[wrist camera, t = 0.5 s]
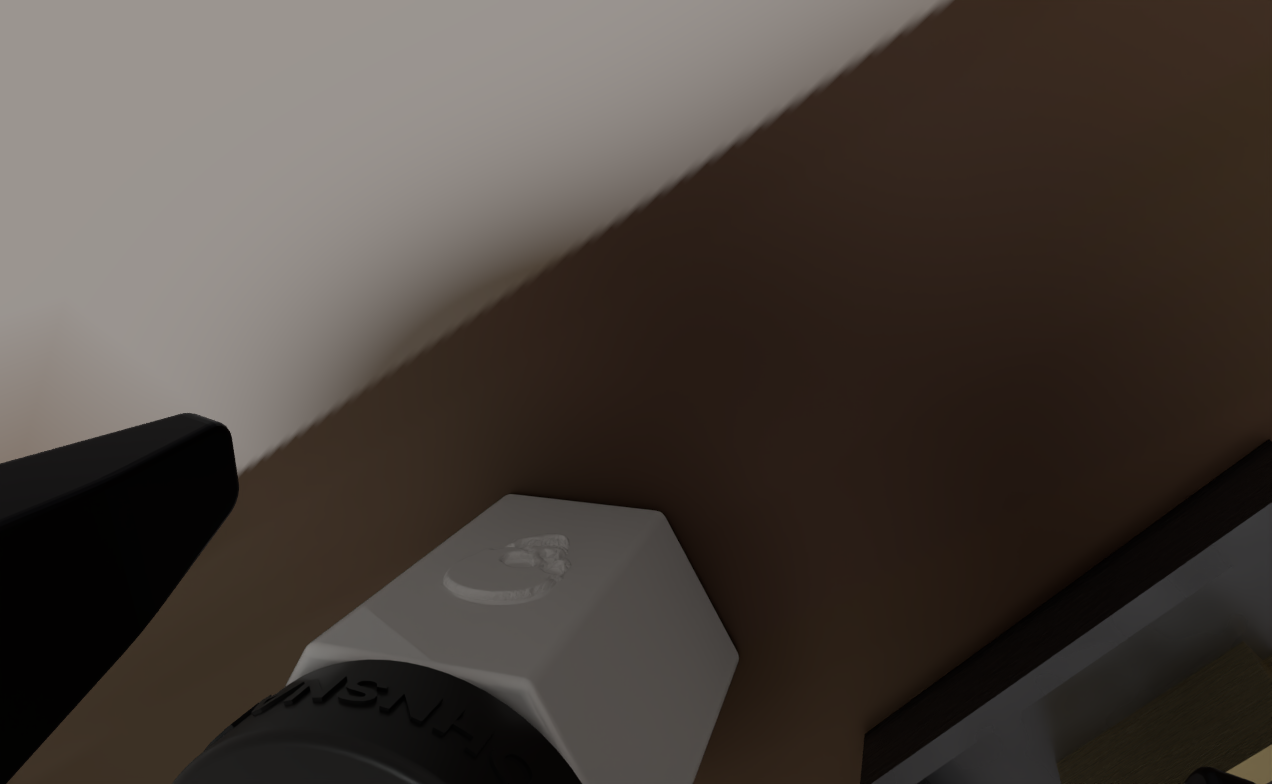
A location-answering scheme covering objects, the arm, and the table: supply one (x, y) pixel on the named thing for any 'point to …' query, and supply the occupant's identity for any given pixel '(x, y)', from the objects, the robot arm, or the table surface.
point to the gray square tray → (1118, 665)
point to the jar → (504, 665)
